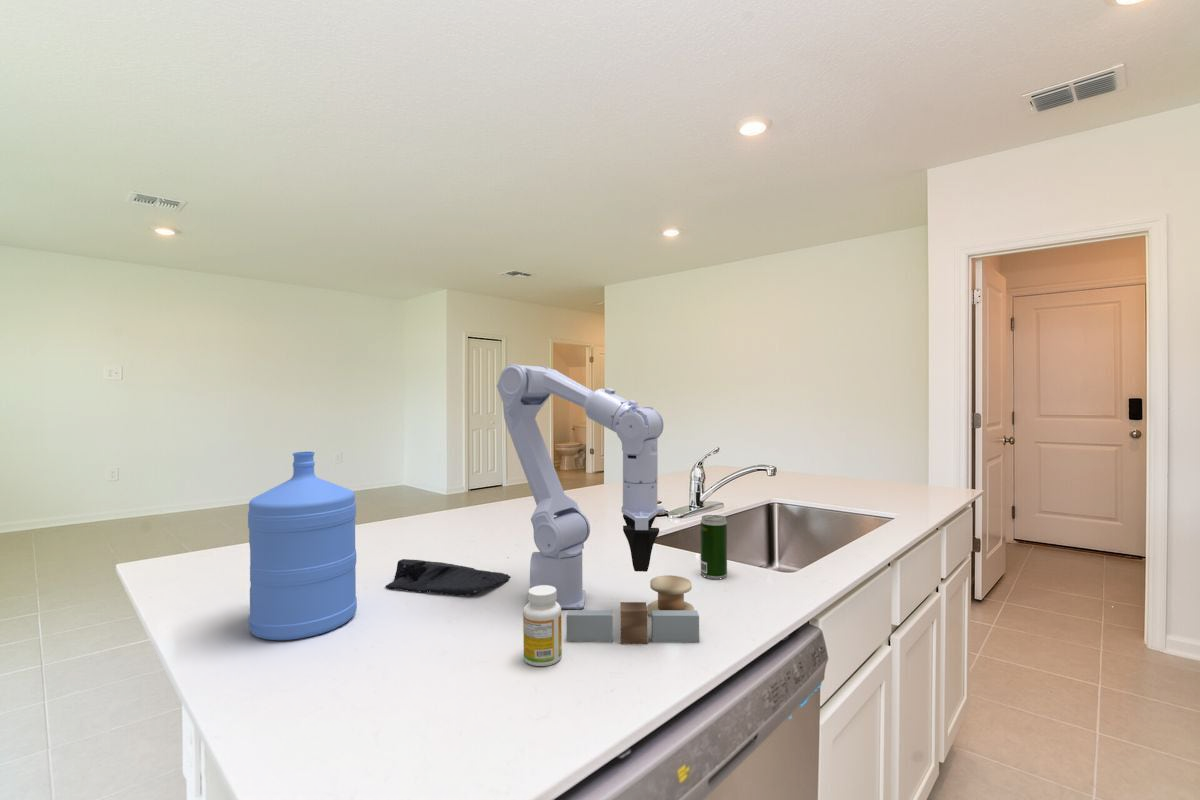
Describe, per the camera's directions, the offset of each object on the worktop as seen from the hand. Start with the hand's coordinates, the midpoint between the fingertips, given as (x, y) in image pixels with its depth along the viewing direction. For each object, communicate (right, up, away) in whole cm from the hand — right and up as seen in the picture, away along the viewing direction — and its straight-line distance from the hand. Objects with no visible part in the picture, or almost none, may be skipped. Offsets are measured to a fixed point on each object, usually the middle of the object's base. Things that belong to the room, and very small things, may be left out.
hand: (640, 563), depth 89 cm
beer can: (+17, -10, +22) cm, 29 cm away
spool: (+5, -10, +3) cm, 11 cm away
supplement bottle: (-15, -10, -12) cm, 22 cm away
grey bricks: (-2, -10, -6) cm, 12 cm away
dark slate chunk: (-37, -10, +19) cm, 42 cm away
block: (-1, -10, -6) cm, 12 cm away
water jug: (-56, -10, 0) cm, 56 cm away
